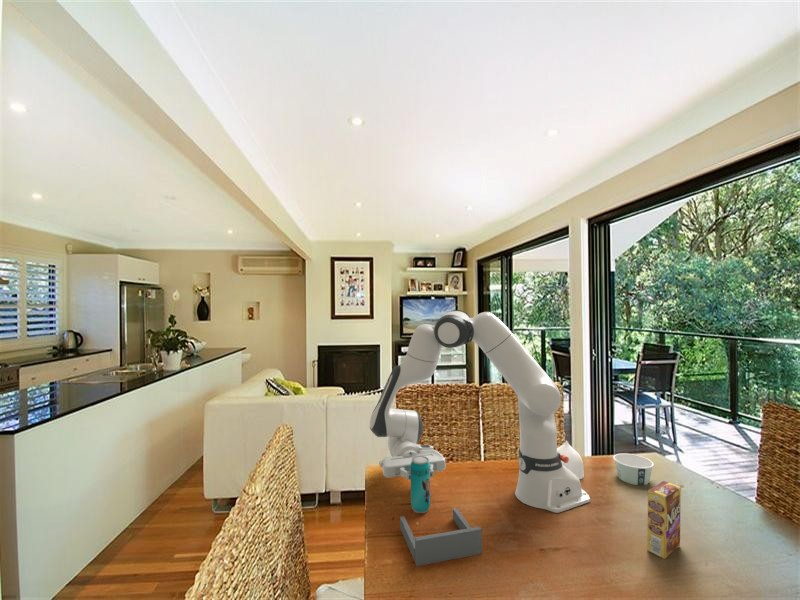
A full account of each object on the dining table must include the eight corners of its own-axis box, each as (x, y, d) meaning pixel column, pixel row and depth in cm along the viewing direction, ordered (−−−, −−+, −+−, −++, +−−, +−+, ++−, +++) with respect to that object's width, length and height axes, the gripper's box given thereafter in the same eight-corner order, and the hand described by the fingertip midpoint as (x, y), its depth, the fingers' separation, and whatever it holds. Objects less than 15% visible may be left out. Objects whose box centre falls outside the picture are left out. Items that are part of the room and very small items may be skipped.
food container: (607, 470, 138) (607, 452, 138) (643, 472, 136) (643, 454, 136) (622, 486, 126) (622, 466, 126) (661, 488, 124) (661, 468, 124)
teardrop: (563, 482, 129) (563, 447, 129) (544, 468, 140) (543, 436, 140) (591, 478, 132) (590, 443, 132) (569, 465, 142) (569, 433, 142)
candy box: (666, 560, 90) (665, 496, 90) (646, 551, 93) (645, 489, 93) (682, 547, 94) (681, 486, 95) (662, 538, 98) (661, 479, 98)
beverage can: (423, 517, 109) (423, 465, 109) (407, 510, 112) (406, 460, 112) (433, 508, 113) (433, 458, 113) (417, 502, 117) (417, 453, 117)
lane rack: (456, 518, 108) (456, 497, 108) (481, 553, 93) (481, 529, 93) (400, 527, 104) (399, 505, 104) (416, 566, 88) (416, 540, 88)
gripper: (377, 451, 123) (386, 469, 110) (436, 444, 129) (451, 461, 115) (377, 470, 123) (386, 490, 110) (436, 463, 128) (452, 481, 115)
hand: (420, 475), depth 113 cm, fingers closed on beverage can, 5 cm apart
